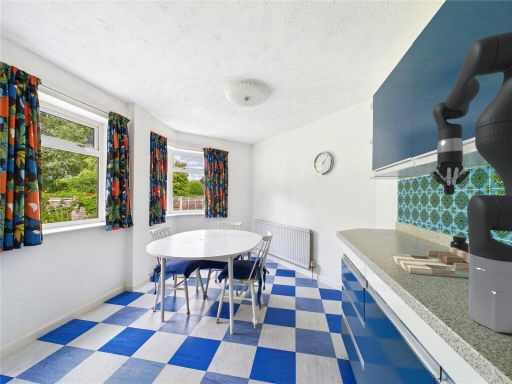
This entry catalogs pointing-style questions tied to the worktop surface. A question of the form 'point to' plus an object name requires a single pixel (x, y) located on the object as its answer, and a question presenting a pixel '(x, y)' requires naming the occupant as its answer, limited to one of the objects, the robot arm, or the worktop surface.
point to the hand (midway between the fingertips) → (449, 194)
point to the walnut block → (449, 258)
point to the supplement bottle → (460, 243)
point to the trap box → (434, 264)
